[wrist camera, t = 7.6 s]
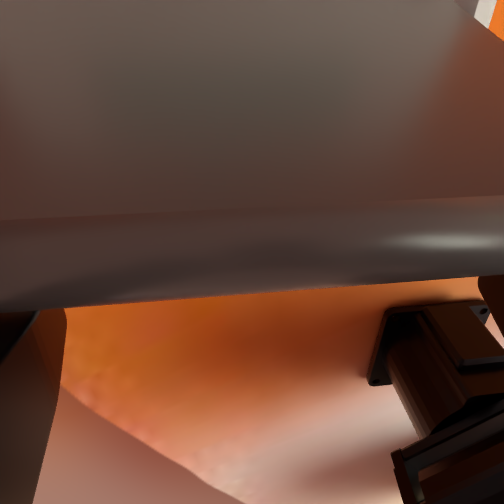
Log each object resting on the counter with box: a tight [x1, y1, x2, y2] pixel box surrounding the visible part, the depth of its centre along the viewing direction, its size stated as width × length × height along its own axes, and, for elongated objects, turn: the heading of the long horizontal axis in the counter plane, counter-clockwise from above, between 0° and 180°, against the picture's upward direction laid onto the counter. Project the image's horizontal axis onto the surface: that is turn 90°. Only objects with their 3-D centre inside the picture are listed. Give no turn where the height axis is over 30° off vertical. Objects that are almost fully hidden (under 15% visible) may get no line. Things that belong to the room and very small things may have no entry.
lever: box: [0, 0, 504, 313], centre depth 10 cm, size 2×15×11 cm, turn 89°
